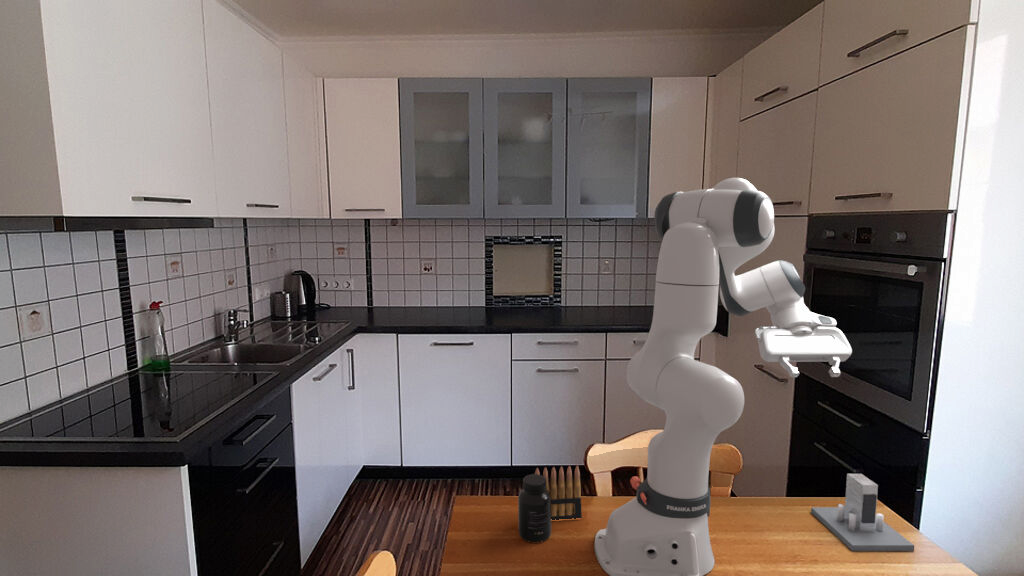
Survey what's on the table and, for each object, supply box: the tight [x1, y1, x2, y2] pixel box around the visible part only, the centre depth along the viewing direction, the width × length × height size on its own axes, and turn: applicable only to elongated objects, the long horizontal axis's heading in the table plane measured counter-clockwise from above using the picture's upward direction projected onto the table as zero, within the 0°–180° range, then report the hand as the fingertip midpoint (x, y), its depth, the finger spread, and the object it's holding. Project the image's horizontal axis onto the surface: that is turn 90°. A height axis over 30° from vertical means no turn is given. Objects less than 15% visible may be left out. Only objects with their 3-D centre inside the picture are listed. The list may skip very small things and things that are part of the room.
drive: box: [844, 473, 879, 532], centre depth 106 cm, size 3×5×10 cm, turn 0°
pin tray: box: [810, 503, 915, 552], centre depth 107 cm, size 12×14×4 cm
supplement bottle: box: [517, 473, 552, 543], centre depth 105 cm, size 7×7×12 cm
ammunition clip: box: [534, 465, 583, 520], centre depth 111 cm, size 11×2×12 cm, turn 98°
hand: (815, 375), depth 117 cm, fingers open, 8 cm apart
